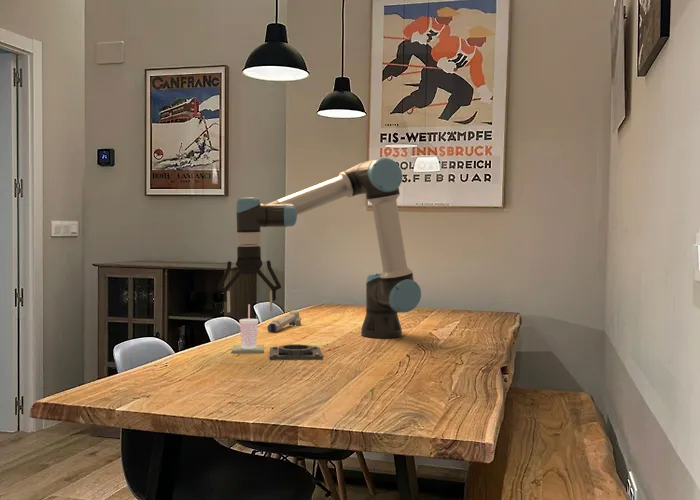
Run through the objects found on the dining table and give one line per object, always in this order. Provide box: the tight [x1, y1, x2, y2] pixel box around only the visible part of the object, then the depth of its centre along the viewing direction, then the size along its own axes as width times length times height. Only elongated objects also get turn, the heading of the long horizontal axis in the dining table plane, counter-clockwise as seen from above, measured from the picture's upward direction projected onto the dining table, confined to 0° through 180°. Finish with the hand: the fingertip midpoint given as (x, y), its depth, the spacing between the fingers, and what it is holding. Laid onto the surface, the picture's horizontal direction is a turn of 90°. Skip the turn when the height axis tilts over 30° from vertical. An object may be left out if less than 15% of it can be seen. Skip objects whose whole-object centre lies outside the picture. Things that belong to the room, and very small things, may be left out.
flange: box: [269, 343, 324, 361], centre depth 217 cm, size 16×16×2 cm
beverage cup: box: [238, 304, 259, 349], centre depth 224 cm, size 6×6×14 cm
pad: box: [231, 344, 265, 354], centre depth 224 cm, size 10×10×1 cm
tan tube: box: [267, 309, 302, 333], centre depth 274 cm, size 5×7×25 cm
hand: (250, 311), depth 224 cm, fingers open, 13 cm apart
